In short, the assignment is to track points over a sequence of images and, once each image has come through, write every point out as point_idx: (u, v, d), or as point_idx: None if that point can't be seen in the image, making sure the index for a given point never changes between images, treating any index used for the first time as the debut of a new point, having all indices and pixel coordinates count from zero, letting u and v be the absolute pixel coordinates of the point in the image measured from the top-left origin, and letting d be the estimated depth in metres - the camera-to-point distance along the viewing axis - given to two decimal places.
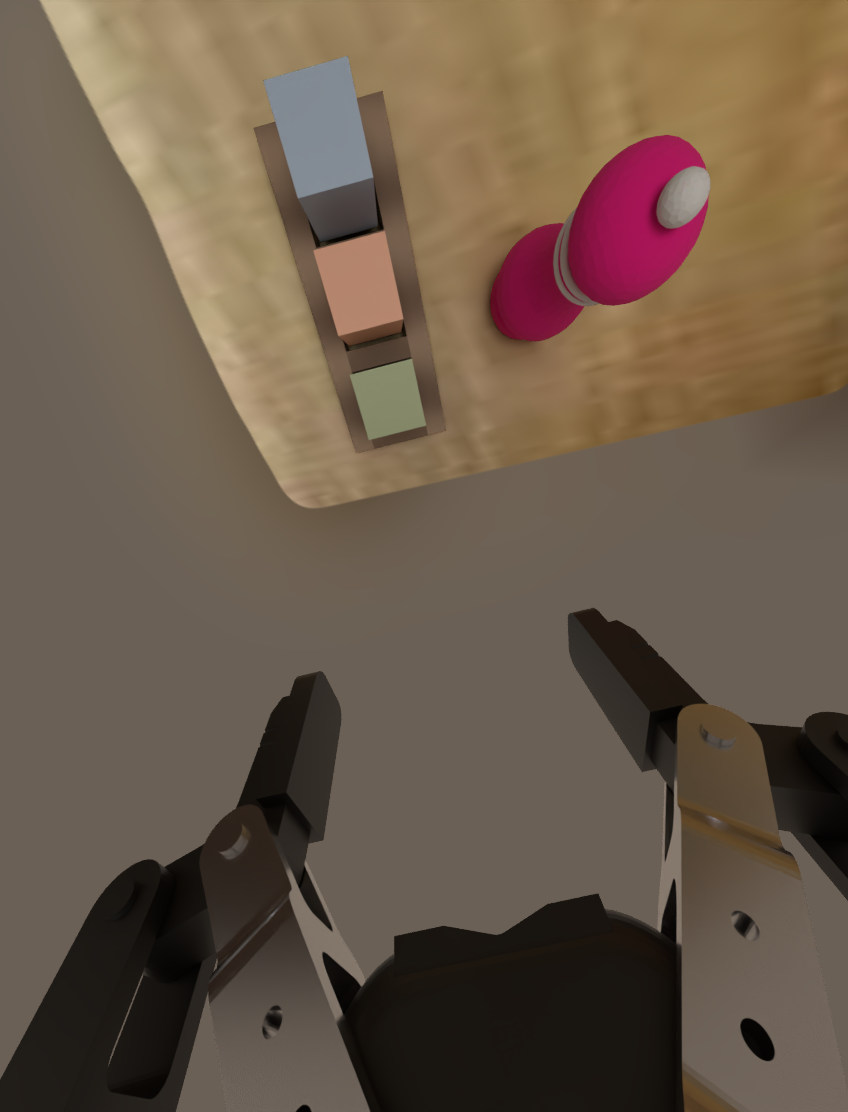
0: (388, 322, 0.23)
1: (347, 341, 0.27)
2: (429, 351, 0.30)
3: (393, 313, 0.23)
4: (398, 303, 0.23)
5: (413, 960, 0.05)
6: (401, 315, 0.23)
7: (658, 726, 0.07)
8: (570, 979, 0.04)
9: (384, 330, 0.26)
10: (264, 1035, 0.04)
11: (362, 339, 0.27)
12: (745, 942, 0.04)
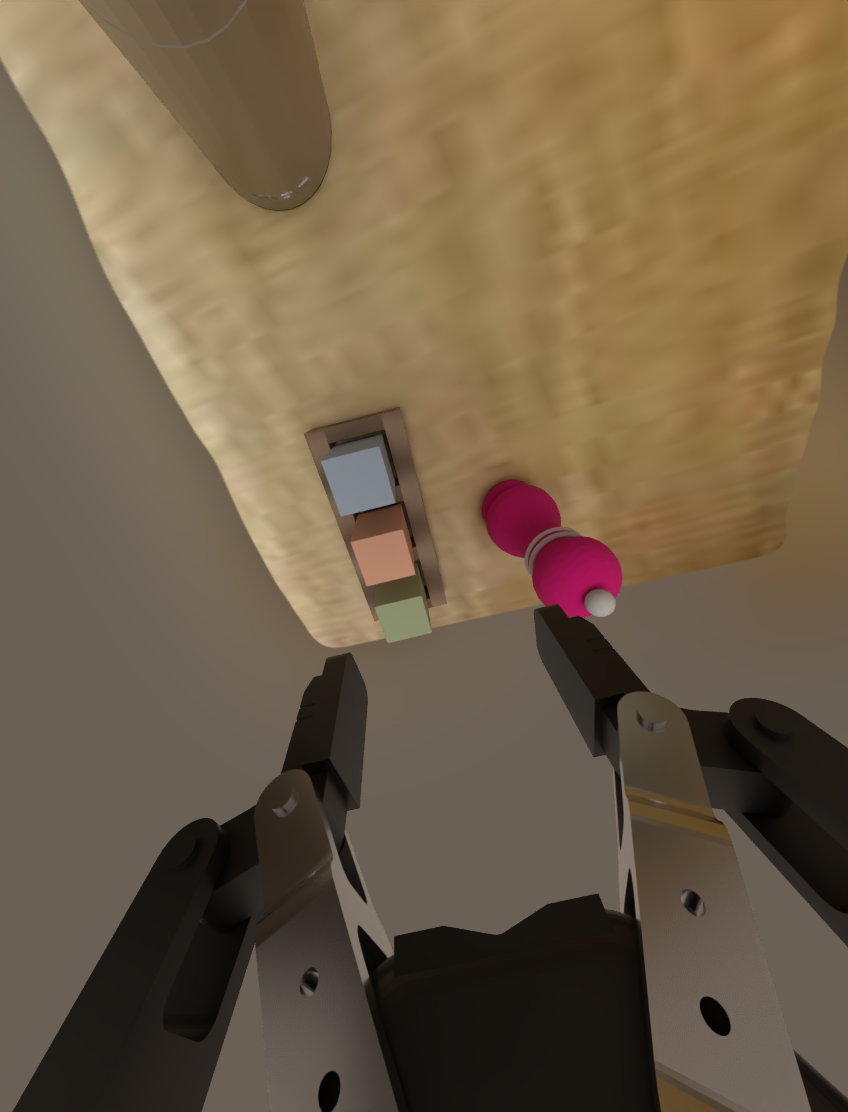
0: (404, 576, 0.31)
1: None
2: (434, 555, 0.37)
3: (408, 572, 0.31)
4: (412, 566, 0.30)
5: (413, 960, 0.05)
6: (414, 572, 0.31)
7: (603, 713, 0.08)
8: (570, 979, 0.04)
9: None
10: (302, 993, 0.04)
11: None
12: (694, 918, 0.04)
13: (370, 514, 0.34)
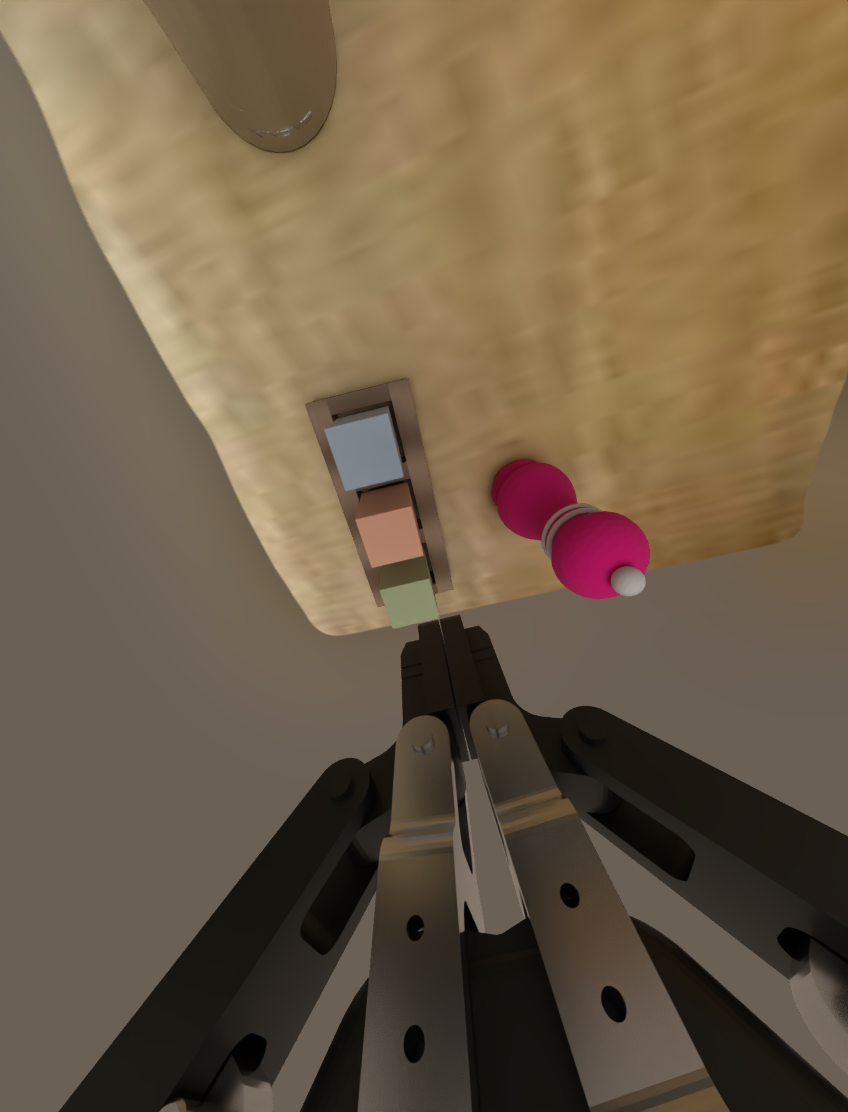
0: (411, 557, 0.29)
1: None
2: (441, 538, 0.36)
3: (416, 552, 0.29)
4: (420, 546, 0.29)
5: None
6: (422, 553, 0.29)
7: (469, 719, 0.08)
8: None
9: None
10: (407, 931, 0.05)
11: None
12: (575, 910, 0.04)
13: (375, 493, 0.32)
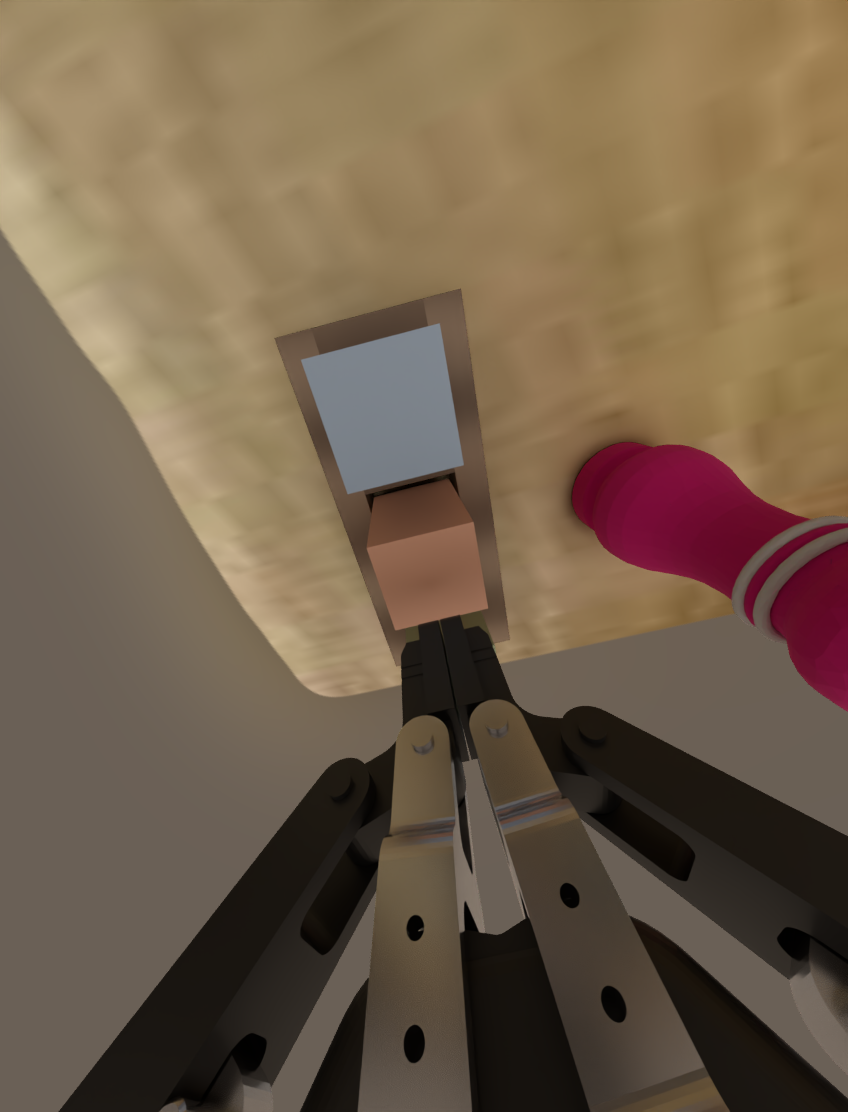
0: (466, 611, 0.16)
1: None
2: (497, 566, 0.23)
3: (475, 603, 0.16)
4: (483, 594, 0.16)
5: None
6: (485, 605, 0.16)
7: (469, 719, 0.08)
8: None
9: None
10: (407, 931, 0.05)
11: None
12: (574, 909, 0.04)
13: (397, 496, 0.19)
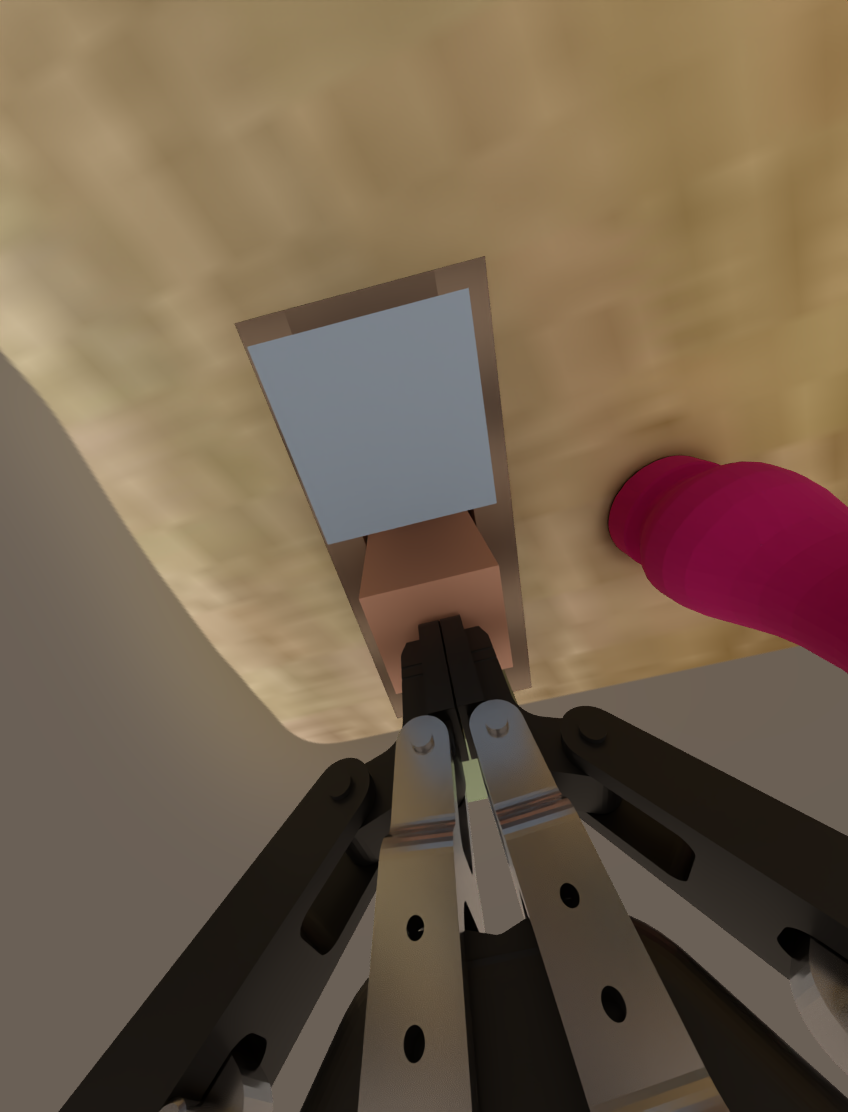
0: None
1: None
2: (520, 606, 0.19)
3: None
4: (507, 650, 0.12)
5: None
6: (510, 663, 0.13)
7: (470, 719, 0.08)
8: None
9: None
10: (407, 931, 0.05)
11: None
12: (575, 910, 0.04)
13: None
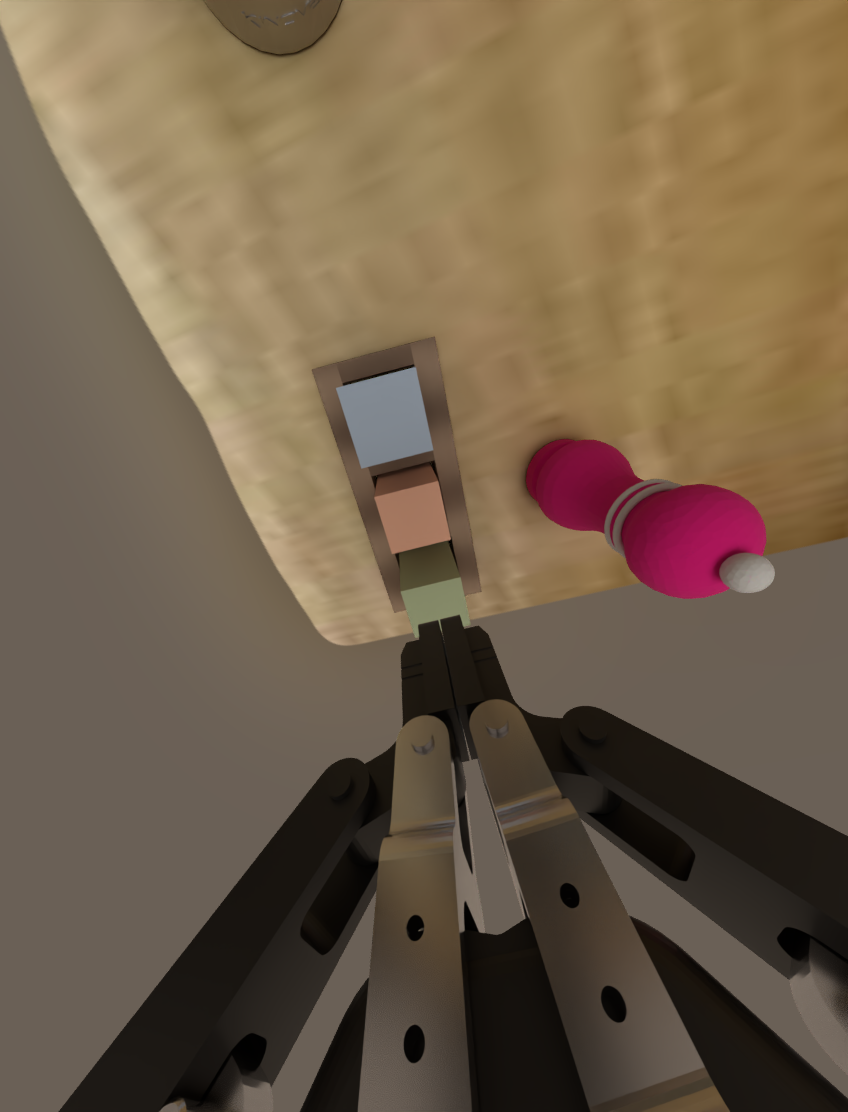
0: (437, 542, 0.26)
1: None
2: (468, 531, 0.31)
3: (442, 536, 0.25)
4: (447, 529, 0.25)
5: None
6: (449, 537, 0.25)
7: (470, 719, 0.08)
8: None
9: None
10: (407, 931, 0.05)
11: None
12: (575, 909, 0.04)
13: (393, 472, 0.29)
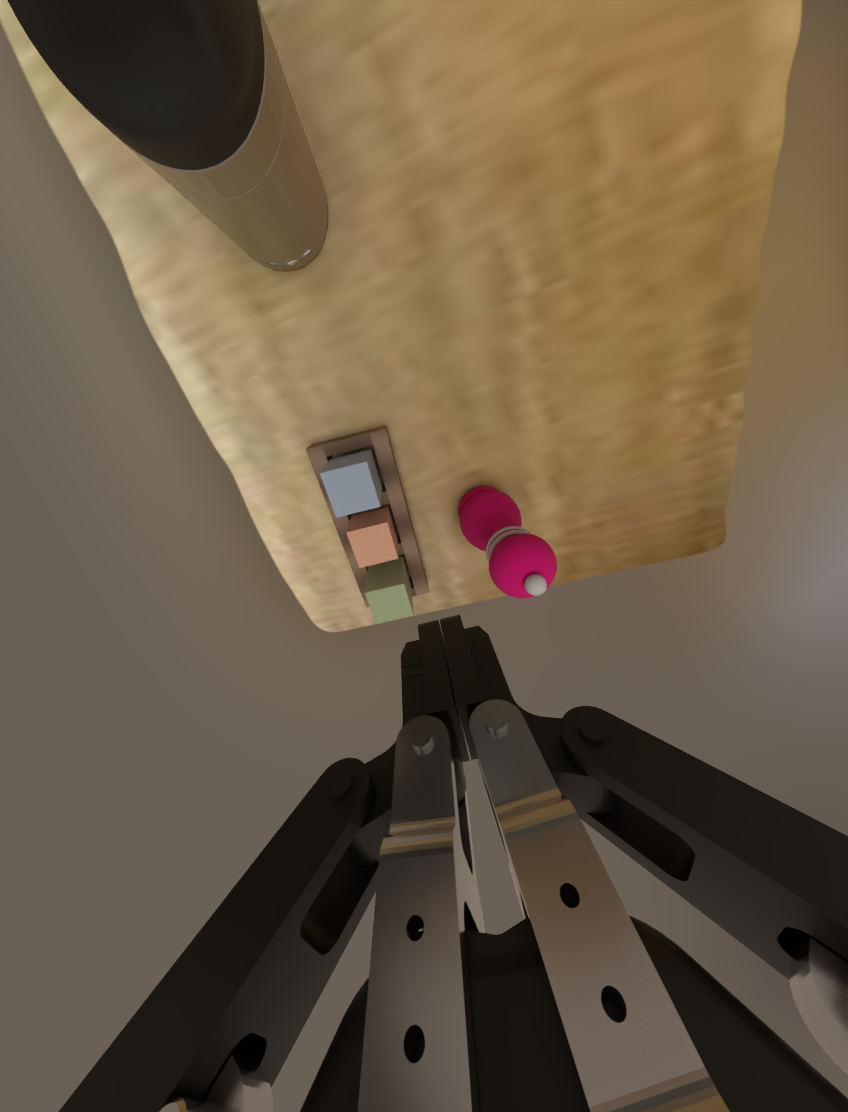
0: (389, 560, 0.39)
1: None
2: (416, 550, 0.44)
3: (392, 556, 0.38)
4: (395, 552, 0.38)
5: None
6: (397, 557, 0.38)
7: (470, 719, 0.08)
8: None
9: None
10: (407, 931, 0.05)
11: None
12: (575, 909, 0.04)
13: None
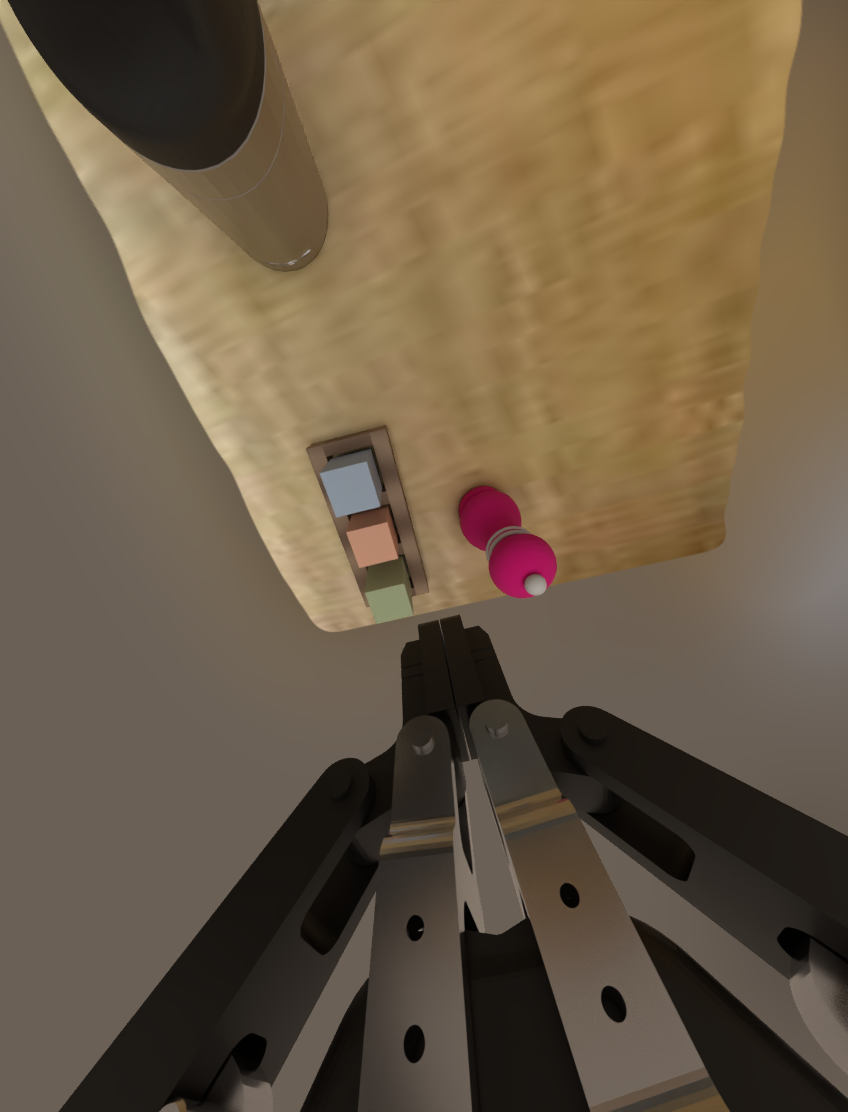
0: (389, 560, 0.39)
1: None
2: (416, 550, 0.44)
3: (392, 556, 0.38)
4: (395, 552, 0.38)
5: None
6: (397, 557, 0.38)
7: (470, 719, 0.08)
8: None
9: None
10: (407, 930, 0.05)
11: None
12: (575, 910, 0.04)
13: None
